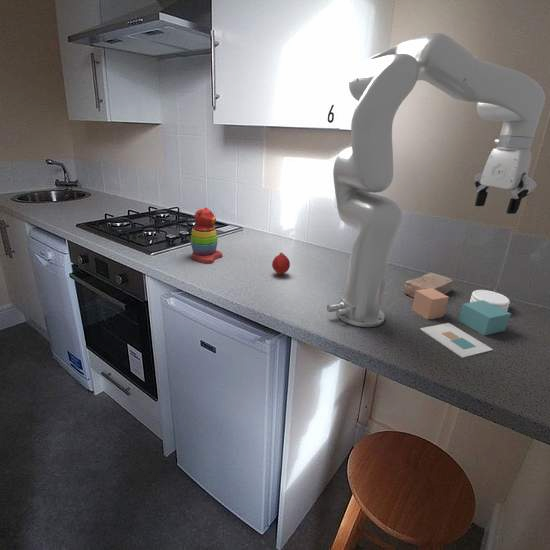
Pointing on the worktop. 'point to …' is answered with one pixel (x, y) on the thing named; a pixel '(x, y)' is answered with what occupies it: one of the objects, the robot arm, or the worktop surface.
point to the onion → (281, 264)
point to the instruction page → (456, 340)
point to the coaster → (491, 298)
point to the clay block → (429, 303)
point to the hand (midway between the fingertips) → (494, 209)
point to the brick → (428, 284)
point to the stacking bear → (204, 237)
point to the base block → (484, 317)
